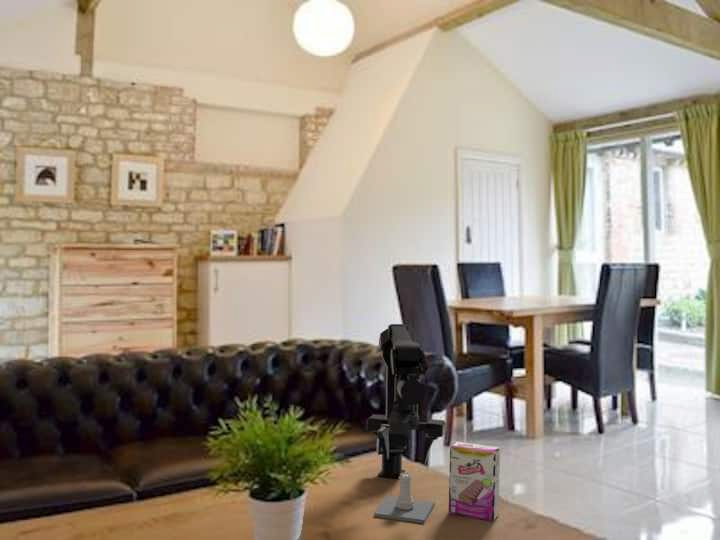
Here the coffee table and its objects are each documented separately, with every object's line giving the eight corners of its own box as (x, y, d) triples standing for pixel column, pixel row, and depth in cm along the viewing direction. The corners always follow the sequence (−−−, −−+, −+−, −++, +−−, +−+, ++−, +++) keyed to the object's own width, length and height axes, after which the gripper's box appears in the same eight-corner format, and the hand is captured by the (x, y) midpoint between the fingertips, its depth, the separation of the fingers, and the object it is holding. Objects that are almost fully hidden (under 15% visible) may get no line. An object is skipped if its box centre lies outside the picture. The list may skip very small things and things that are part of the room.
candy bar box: (447, 514, 149) (448, 445, 149) (453, 507, 154) (454, 440, 154) (494, 523, 144) (495, 451, 144) (499, 515, 149) (500, 446, 149)
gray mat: (387, 499, 159) (387, 495, 159) (434, 505, 155) (434, 501, 155) (374, 516, 147) (374, 513, 147) (424, 523, 144) (424, 520, 144)
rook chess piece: (414, 504, 153) (414, 471, 153) (414, 511, 149) (414, 477, 149) (396, 503, 154) (396, 470, 154) (395, 510, 149) (395, 476, 149)
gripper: (359, 399, 147) (358, 466, 147) (438, 406, 141) (437, 475, 141) (372, 391, 157) (372, 453, 157) (447, 396, 151) (446, 461, 151)
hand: (405, 460), depth 151 cm, fingers open, 9 cm apart
